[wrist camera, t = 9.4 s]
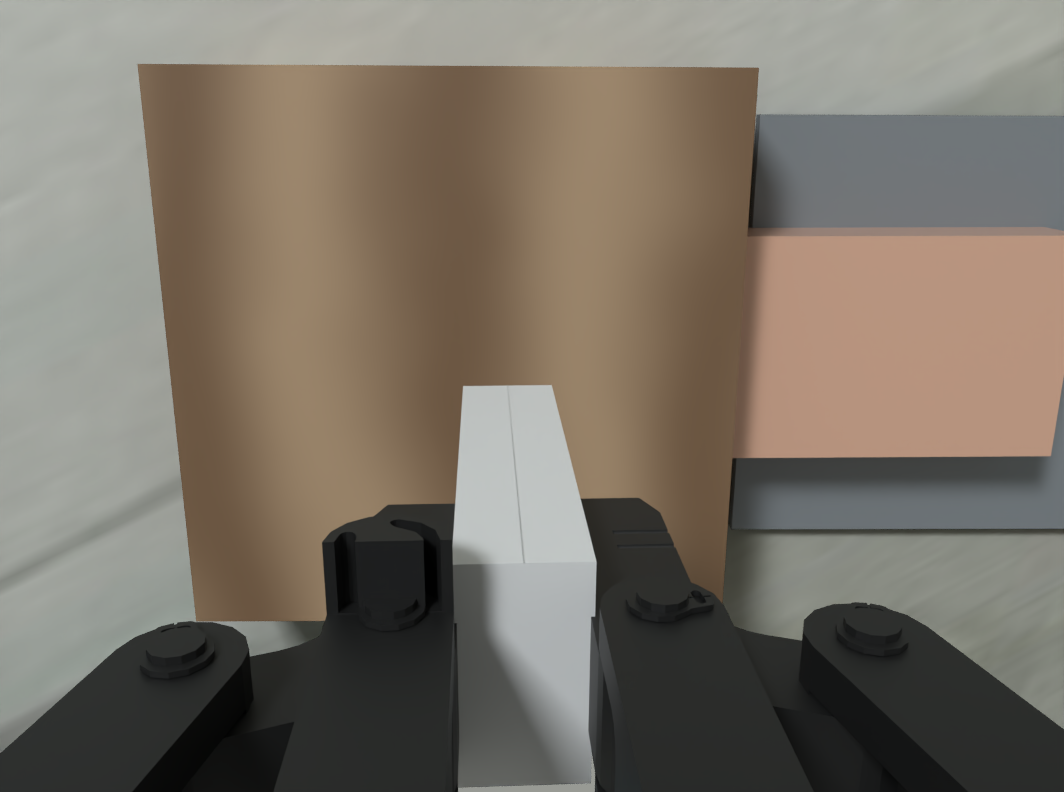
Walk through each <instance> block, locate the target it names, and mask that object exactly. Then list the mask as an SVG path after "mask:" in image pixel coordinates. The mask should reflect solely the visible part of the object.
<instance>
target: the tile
mask: <svg viewBox="0 0 1064 792" xmlns="http://www.w3.org/2000/svg"><path fill="white" fill-rule="evenodd" d="M1063 378H1064V231H1062V230H1057V229H1052V228H1047V227H862V228H748V234H747V249H746V263H745V278H744V293H743V308H742V322H741V337H740V352H739V367H738V381H737V396H736V411H735V426H734V440H733V455H732V458H834V457H1000V456H1051V452H1052V446H1053V440H1054V433H1055V427H1056V421H1057V415H1058V409H1059V402H1060V396H1061V390H1062V384H1063Z"/></svg>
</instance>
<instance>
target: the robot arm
mask: <svg viewBox="0 0 1064 792" xmlns="http://www.w3.org/2000/svg"><path fill="white" fill-rule="evenodd" d="M322 552H323V567H324V582H325V597H326V612H327V615H326V619H325V622H324V625H323V629H322V632H321V635H320V636H319V637H317V638H315V639H313V640H311V641H308V642H306V643H303V644H301V645H299V646H295V647H291V648H288V649H284V650H280V651H276V652H271V653H266V654H261V655H256V656H251V657H250V655H249V648H248V644H247V640H246V637H245V636H244V635H243V634H241V633H240V632H238V631H237V630H236V629H234V628H233V627H229V626H225V625H221V624H217V623H213V622H192V621H188V622H179V623H177V624H176V625H174V623H173V624H169V625H165V626H161V627H158V628H157V629H155V630H153V631H150V632H147V633H145V634H142V635H140V636H137V637H135V638H133V639H132V640H130V641H129V642H127V643H126V644H124V645H123V646H121V647H120V648H118V649H117V650H115V651H114V652H113V653H112V654H111V655H110V656H109V657H107V658H106V659H105V660H104V661H103V662H102V663H101V664H100V665H99V666H97V667H96V668H95V669H94V670H93V671H92V672H91V673H90V674H88V675H87V676H86V677H85V678H84V679H83V680H82V681H81V682H80V683H78V684H77V685H76V686H75V687H74V688H73V689H72V690H71V691H70V692H68V693H67V694H66V695H65V696H64V697H63V698H62V699H61V700H59V701H58V702H57V703H56V704H55V705H54V706H53V707H52V708H51V709H49V710H48V711H47V712H46V713H45V714H44V715H43V716H42V717H40V718H39V719H38V720H37V721H36V722H35V723H34V724H33V725H32V726H30V727H29V728H28V729H27V730H26V731H25V732H24V733H23V734H21V735H20V736H19V737H18V738H17V739H16V740H15V741H14V742H13V743H11V744H10V745H9V746H8V747H7V748H6V749H5V750H4V751H3V752H1V753H0V792H458V787H489V786H521V785H552V784H583V783H591V761H592V760H591V759H592V756H593V761H594V767H595V792H1064V729H1063V728H1061V727H1060V726H1059V725H1057V724H1056V723H1055V722H1053V721H1052V720H1051V719H1049V718H1048V717H1047V716H1045V715H1044V714H1043V713H1041V712H1040V711H1039V710H1037V709H1036V708H1035V707H1033V706H1032V705H1031V704H1029V703H1028V702H1027V701H1025V700H1024V699H1023V698H1021V697H1020V696H1019V695H1017V694H1016V693H1015V692H1013V691H1012V690H1011V689H1009V688H1008V687H1007V686H1005V685H1004V684H1003V683H1001V682H1000V681H999V680H997V679H996V678H995V677H993V676H992V675H991V674H989V673H988V672H987V671H985V670H984V669H983V668H981V667H980V666H979V665H977V664H976V663H975V662H973V661H972V660H971V659H969V658H968V657H967V656H966V655H964V654H963V653H962V652H960V651H959V650H958V649H956V648H955V647H954V646H952V645H951V644H950V643H948V642H947V641H946V640H944V639H943V638H942V637H940V636H939V635H938V634H936V633H935V632H934V631H932V630H931V629H930V628H928V627H927V626H925V625H923V624H922V623H920V622H918V621H916V620H915V619H913V618H911V617H909V616H908V615H905V614H902V613H899V612H896V611H893V610H890V609H888V608H886V607H884V606H880V605H875V604H870V605H867V603H857V602H855V603H851V604H833V605H830V606H826V607H823V608H820V609H817V610H814V611H813V612H812V613H811V614H810V615H809V616H808V617H807V618H806V619H805V620H804V627H803V637H802V641H800V640H794V639H787V638H781V637H774V636H768V635H763V634H758V633H754V632H749V631H746V630H743V629H740V628H737V627H734V625H733V623H732V621H731V619H730V617H729V615H728V613H727V611H726V609H725V607H724V605H723V604H722V602H721V601H720V600H719V599H718V598H717V597H716V596H715V595H714V593H712V592H710V591H708V590H706V589H704V588H702V587H701V586H699V585H697V584H694V583H691V581H690V579H689V577H688V574H687V572H686V570H685V568H684V565H683V563H682V561H681V559H680V556H679V554H678V552H677V549H676V547H674V543H673V540H672V538H671V536H670V534H669V533H668V529H667V527H666V525H665V522H664V520H663V518H662V516H661V513H660V512H659V511H657V510H656V509H655V508H653V507H652V506H650V505H649V504H647V503H646V502H644V501H643V500H642V499H640V498H588V499H580V495H579V491H578V487H577V483H576V479H575V475H574V471H573V467H572V463H571V459H570V455H569V451H568V447H567V443H566V439H565V435H564V432H563V428H562V424H561V420H560V416H559V412H558V408H557V404H556V400H555V396H554V392H553V388H552V385H513V386H463V395H462V410H461V425H460V440H459V455H458V470H457V485H456V500H455V503H454V504H395V505H387V506H386V507H384V508H383V509H382V510H381V511H380V512H378V513H377V514H376V515H375V516H373V517H367V518H363V519H360V520H356V521H352V522H348V523H346V524H344V525H342V526H340V527H338V528H337V529H335V530H333V531H331V532H330V533H329V534H328V535H327V537H326V538H325V539H324V540H323V542H322Z"/></svg>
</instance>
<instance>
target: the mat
mask: <svg viewBox="0 0 1064 792" xmlns="http://www.w3.org/2000/svg"><path fill="white" fill-rule="evenodd" d="M862 227H1047V228H1052V229H1057V230H1062V231H1064V116H937V115H757V118H756V133H755V147H754V162H753V177H752V191H751V206H750V221H749V228H862ZM729 525H730V527H731V529H1064V378H1063V384H1062V390H1061V396H1060V402H1059V409H1058V415H1057V421H1056V427H1055V433H1054V440H1053V446H1052V452H1051V456H1000V457H834V458H733V470H732V485H731V500H730V514H729Z"/></svg>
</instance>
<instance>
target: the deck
mask: <svg viewBox="0 0 1064 792" xmlns="http://www.w3.org/2000/svg"><path fill="white" fill-rule="evenodd" d="M138 72H139V82H140V91H141V101H142V110H143V120H144V129H145V139H146V148H147V158H148V167H149V177H150V186H151V196H152V205H153V215H154V224H155V234H156V243H157V253H158V262H159V272H160V281H161V291H162V300H163V310H164V319H165V329H166V338H167V347H168V357H169V366H170V376H171V385H172V395H173V404H174V414H175V423H176V433H177V442H178V452H179V461H180V471H181V480H182V490H183V499H184V509H185V518H186V528H187V537H188V547H189V556H190V566H191V575H192V585H193V594H194V603H195V613H196V621H325V619H326V615H327V612H326V597H325V582H324V567H323V552H322V542H323V540H324V539H325V538H326V537H327V535H328V534H329V533H330V532H331V531H333V530H335V529H337V528H338V527H340V526H342V525H344V524H346V523H348V522H352V521H356V520H360V519H363V518H367V517H373V516H375V515H376V514H377V513H378V512H380V511H381V510H382V509H383V508H384V507H386V506H387V505H395V504H454V503H455V500H456V485H457V470H458V455H459V440H460V425H461V410H462V395H463V386H513V385H552V388H553V392H554V396H555V400H556V404H557V408H558V412H559V416H560V420H561V424H562V428H563V432H564V435H565V439H566V443H567V447H568V451H569V455H570V459H571V463H572V467H573V471H574V475H575V479H576V483H577V487H578V491H579V495H580V499H588V498H640V499H642V500H643V501H644V502H646V503H647V504H649V505H650V506H652V507H653V508H655V509H656V510H657V511H659V512H660V513H661V516H662V518H663V520H664V522H665V525H666V527H667V529H668V533H669V534H670V536H671V538H672V540H673V543H674V547H676V549H677V552H678V554H679V556H680V559H681V561H682V563H683V565H684V568H685V570H686V572H687V574H688V577H689V579H690V581H691V583H694V584H697V585H699V586H701V587H702V588H704V589H706V590H708V591H710V592H712V593H714V595H715V596H716V597H717V598H718V599H719V600H720V601H721V602H722V603H723V588H724V573H725V558H726V544H727V529H728V514H729V499H730V485H731V470H732V455H733V440H734V426H735V411H736V396H737V381H738V367H739V352H740V337H741V322H742V308H743V293H744V278H745V263H746V249H747V234H748V219H749V205H750V190H751V175H752V160H753V146H754V131H755V116H756V101H757V87H758V72H759V68H712V67H542V66H373V65H203V64H138Z"/></svg>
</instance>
